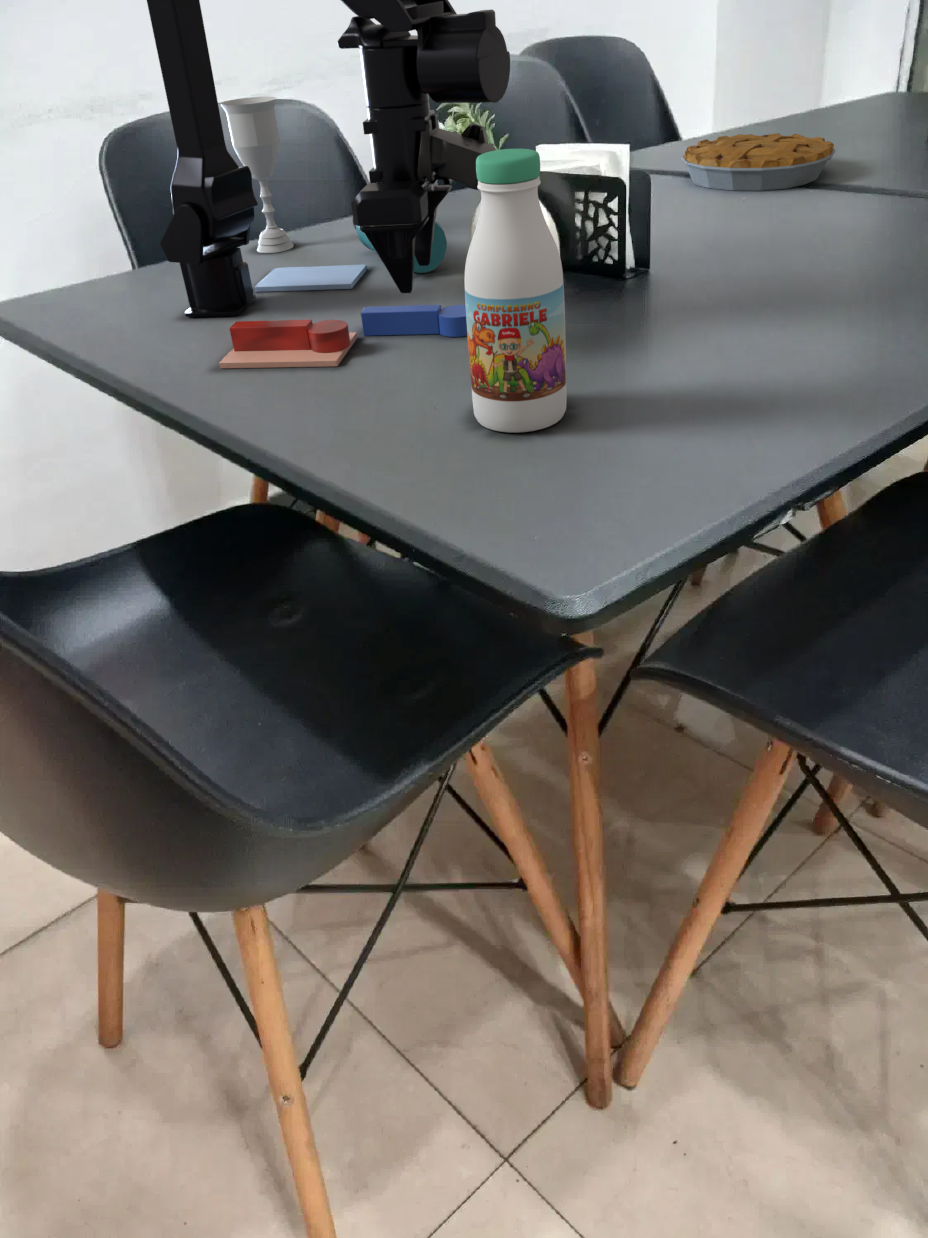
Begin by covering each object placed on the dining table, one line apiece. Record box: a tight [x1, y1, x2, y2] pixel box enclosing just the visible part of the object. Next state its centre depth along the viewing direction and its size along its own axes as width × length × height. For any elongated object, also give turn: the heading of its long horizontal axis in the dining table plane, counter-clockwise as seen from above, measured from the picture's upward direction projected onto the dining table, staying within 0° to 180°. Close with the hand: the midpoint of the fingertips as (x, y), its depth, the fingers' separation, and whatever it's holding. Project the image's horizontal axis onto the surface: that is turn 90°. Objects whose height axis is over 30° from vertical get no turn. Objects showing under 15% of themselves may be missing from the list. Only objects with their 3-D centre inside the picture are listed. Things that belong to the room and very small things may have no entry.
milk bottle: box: [464, 148, 568, 433], centre depth 75 cm, size 8×8×20 cm
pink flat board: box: [218, 331, 359, 369], centre depth 98 cm, size 12×8×1 cm, turn 81°
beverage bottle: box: [352, 219, 448, 275], centre depth 121 cm, size 6×7×20 cm
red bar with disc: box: [228, 318, 350, 353], centre depth 97 cm, size 12×4×2 cm, turn 81°
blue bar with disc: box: [360, 304, 468, 338], centre depth 99 cm, size 12×4×2 cm, turn 81°
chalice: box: [219, 96, 294, 254], centre depth 128 cm, size 7×7×18 cm
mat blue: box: [254, 264, 368, 293], centre depth 118 cm, size 12×8×1 cm, turn 81°
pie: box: [680, 132, 836, 192], centre depth 144 cm, size 22×22×5 cm
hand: (415, 278), depth 97 cm, fingers open, 9 cm apart
